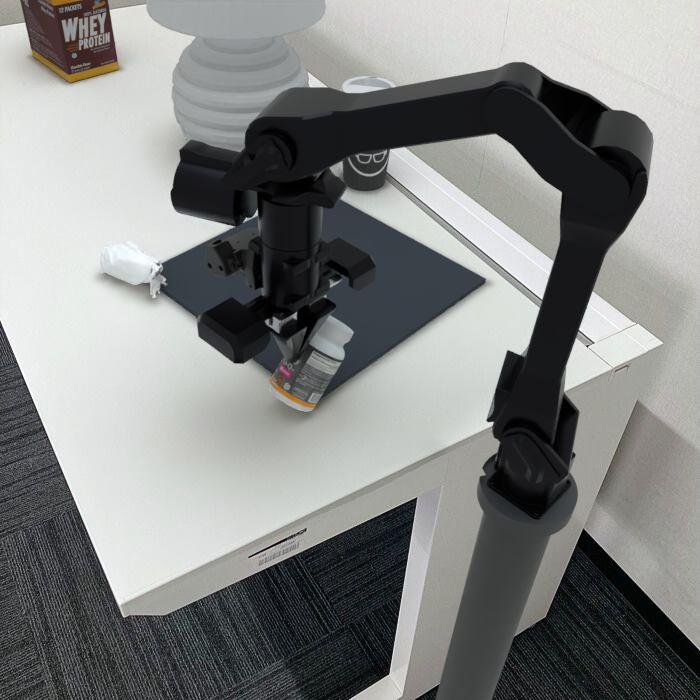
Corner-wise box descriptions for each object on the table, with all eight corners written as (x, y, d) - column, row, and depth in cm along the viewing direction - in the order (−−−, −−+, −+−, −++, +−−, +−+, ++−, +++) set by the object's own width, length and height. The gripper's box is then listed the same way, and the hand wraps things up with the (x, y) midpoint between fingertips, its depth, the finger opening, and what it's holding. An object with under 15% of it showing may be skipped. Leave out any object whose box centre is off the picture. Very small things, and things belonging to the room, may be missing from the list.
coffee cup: (405, 175, 125) (414, 84, 115) (376, 202, 119) (382, 108, 109) (353, 158, 129) (357, 68, 119) (322, 184, 122) (323, 90, 112)
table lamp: (249, 212, 116) (233, -93, 89) (132, 155, 127) (86, -132, 100) (354, 149, 131) (367, -128, 104) (241, 103, 142) (226, -158, 115)
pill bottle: (259, 379, 87) (304, 301, 85) (302, 398, 89) (346, 322, 88) (274, 401, 82) (322, 319, 80) (319, 420, 85) (366, 340, 83)
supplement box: (70, 83, 145) (51, -5, 134) (32, 56, 153) (12, -30, 143) (120, 70, 150) (107, -17, 140) (81, 44, 159) (65, -40, 148)
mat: (485, 282, 106) (486, 278, 105) (314, 403, 88) (314, 400, 87) (316, 189, 121) (316, 186, 121) (142, 276, 104) (141, 273, 103)
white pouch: (179, 279, 104) (117, 245, 105) (171, 251, 98) (105, 216, 99) (157, 307, 102) (94, 272, 103) (148, 281, 96) (80, 244, 97)
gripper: (302, 165, 81) (302, 287, 91) (150, 236, 70) (170, 364, 81) (384, 209, 75) (374, 333, 86) (233, 293, 65) (242, 422, 75)
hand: (291, 360), depth 82 cm, fingers closed
